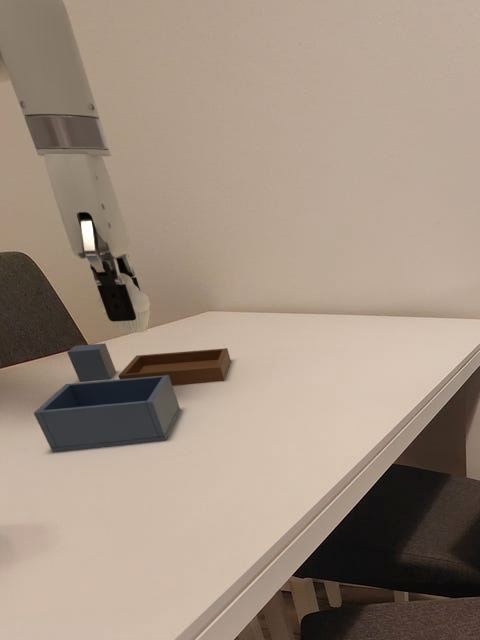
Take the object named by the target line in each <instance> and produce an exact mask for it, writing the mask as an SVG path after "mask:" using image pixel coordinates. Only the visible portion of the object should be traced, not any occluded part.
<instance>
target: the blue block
mask: <svg viewBox="0 0 480 640" xmlns="http://www.w3.org/2000/svg"><path fill="white" fill-rule="evenodd" d="M67 355H68V357H69V361H70V362H71V364H72V367H73V369H74V372H75V374H76V377H77V378H78V381H79V383H83V382H95V381H106V380H112V379H113V378H114V376H115V375H116V374H117V370H116V367H115V365H114V362H113V359H112V357H111V354H110V352H109V349H108V347H107V344H106V343H94V344H91V343H90V344H79V345H74V346H73V347H72V348H70V349H69V350H67Z"/></svg>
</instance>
